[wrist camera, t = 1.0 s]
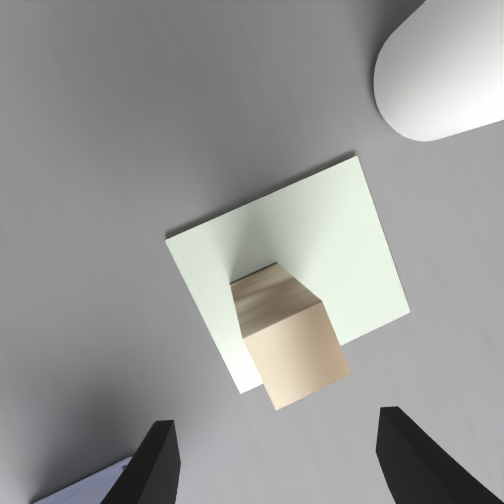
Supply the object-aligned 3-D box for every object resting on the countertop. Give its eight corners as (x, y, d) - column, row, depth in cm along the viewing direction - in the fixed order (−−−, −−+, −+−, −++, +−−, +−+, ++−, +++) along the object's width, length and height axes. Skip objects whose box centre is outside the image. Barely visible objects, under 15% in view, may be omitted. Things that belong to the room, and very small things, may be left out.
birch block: (249, 326, 24) (276, 410, 14) (229, 283, 23) (242, 339, 13) (294, 305, 24) (351, 373, 14) (276, 261, 23) (322, 301, 14)
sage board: (240, 389, 25) (240, 394, 25) (165, 239, 23) (164, 240, 22) (405, 309, 26) (410, 312, 26) (353, 156, 24) (357, 155, 23)
